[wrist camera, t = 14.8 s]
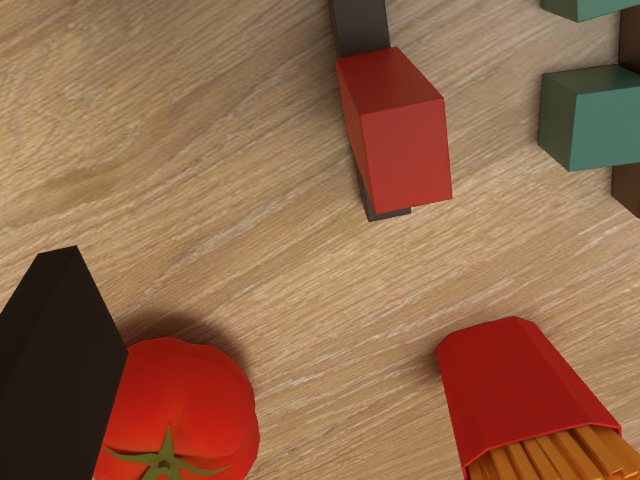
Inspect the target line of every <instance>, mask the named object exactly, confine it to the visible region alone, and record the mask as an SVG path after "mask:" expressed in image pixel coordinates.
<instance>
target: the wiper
mask: <svg viewBox="0 0 640 480" xmlns="http://www.w3.org/2000/svg"><path fill="white" fill-rule="evenodd" d="M328 5H329V11H330V17H331V22H332V28H333V34H334V40H335V46H336V52H337V57H338V59H335V64H336V70H337V76H338V82H339V87H340V93H341V99H342V105H343V110H344V116H345V122H346V128H347V133H348V138H349V141H350V144H351V147H352V150H353V153H354V157H355V163H356V168H357V174H358V180H359V186H360V192H361V198H362V203H363V206H364V209H365V213H366V216H367V219H368V221H369V222H372V221H377V220H382V219H387V218H392V217H396V216H401V215H406V214H410V213H411V207H415V206H420V205H425V204H429V203H434V202H439V201H444V200H449V199H452V186H451V174H450V163H449V151H448V140H447V128H446V117H445V105H444V98H443V96H442V95H441V94H440V93H439V92H438V91H437V90H436V89H435V88H434V86H433V85H432V84H431V83H430V82H429V81H428V80H427V79H426V78H425V77H424V76H423V74H422V73H421V72H420V71H419V70H418V69H417V68H416V67H415V66H414V65H413V64H412V62H411V61H410V60H409V59H408V58H407V57H406V56H405V55H404V54H403V53H402V52H401V50H400V49H399V48H398V47H391V48H390V40H389V32H388V24H387V16H386V8H385V0H328Z"/></svg>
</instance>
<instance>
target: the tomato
mask: <svg viewBox="0 0 640 480" xmlns="http://www.w3.org/2000/svg"><path fill="white" fill-rule="evenodd" d="M127 350H128V352H129V354H128V357H127V361H126V364H125V368H124V371H123V374H122V378H121V381H120V385H119V388H118V391H117V395H116V398H115V402H114V405H113V408H112V412H111V415H110V419H109V422H108V425H107V429H106V432H105V436H104V439H103V443H102V446H101V449H100V453H99V456H98V460H97V463H96V466H95V470H94V473H93V477H94V478H95V479H96V480H243V479H244V478H245V476H246V475H247V473H248V472H249V470H250V468H251V467H252V465H253V463H254V461H255V460H256V458H257V454H258V448H259V442H260V434H259V427H258V420H257V417H256V413H255V400H254V392H253V389H252V387H251V384H250V382H249V380H248V378H247V377H246V376H245V374H244V373H243V372H242V370H241V369H240V367H239V366H238V365H237V363H236V362H235V361H234V360H232V359H231V358H230V357H228V356H227V355H226V354H225V353H223V352H222V351H221V350H220V349H218V348H217V347H215V346H211V345H197V344H191V343H188V342H185V341H182V340H179V339H176V338H173V337H163V338H156V339H149V340H143V341H141V342H138V343H136V344H134V345H131V346H129V347H127Z"/></svg>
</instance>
